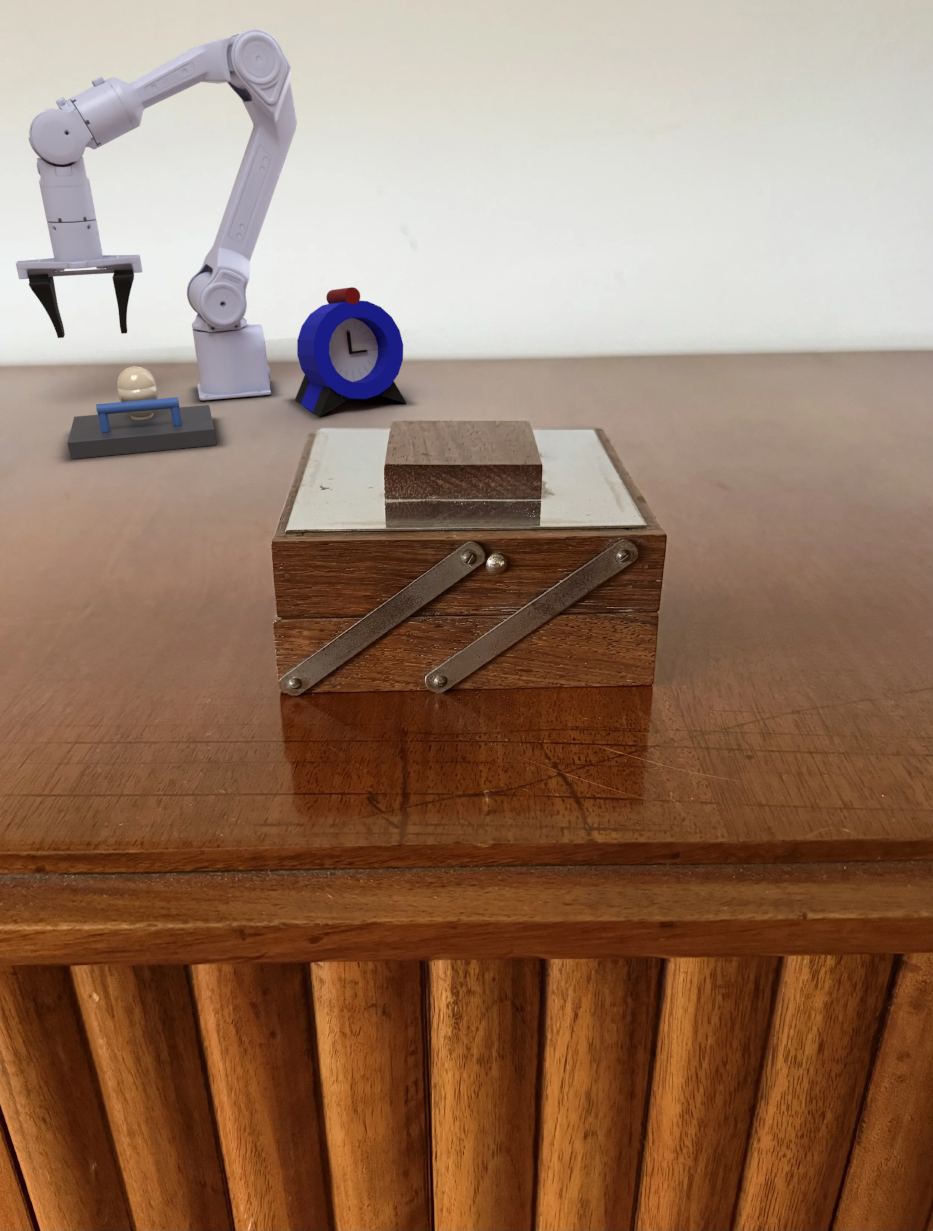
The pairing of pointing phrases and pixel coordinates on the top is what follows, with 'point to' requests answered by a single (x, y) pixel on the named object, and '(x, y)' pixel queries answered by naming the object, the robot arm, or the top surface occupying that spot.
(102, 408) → the handle board
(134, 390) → the lidded jar
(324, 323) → the alarm clock
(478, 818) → the top surface
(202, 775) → the top surface
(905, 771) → the top surface
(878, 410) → the top surface
